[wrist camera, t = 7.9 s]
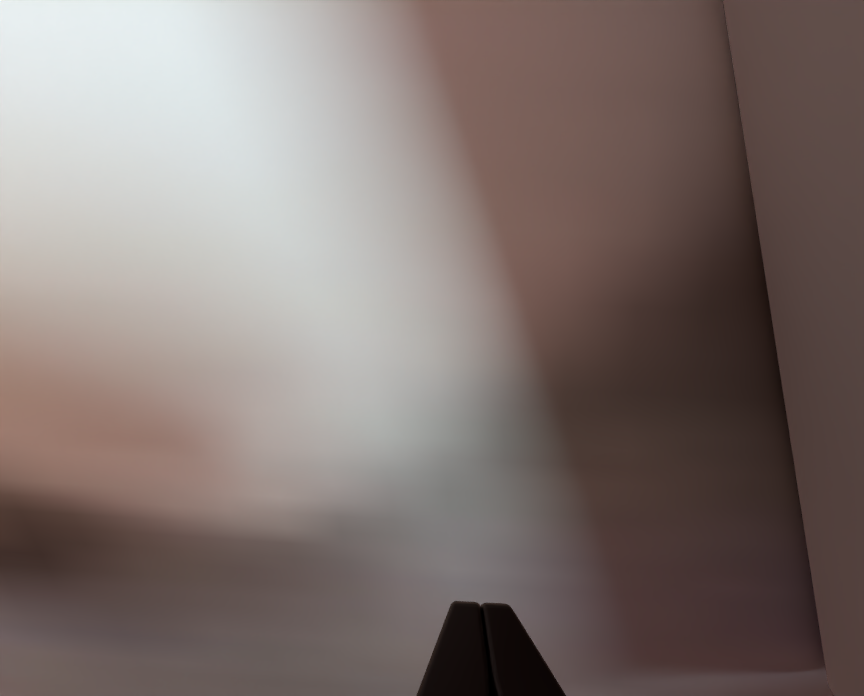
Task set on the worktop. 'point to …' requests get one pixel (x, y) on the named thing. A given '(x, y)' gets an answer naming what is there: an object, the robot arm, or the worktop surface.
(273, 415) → the worktop surface
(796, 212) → the door
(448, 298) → the worktop surface
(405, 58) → the worktop surface
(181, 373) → the worktop surface
